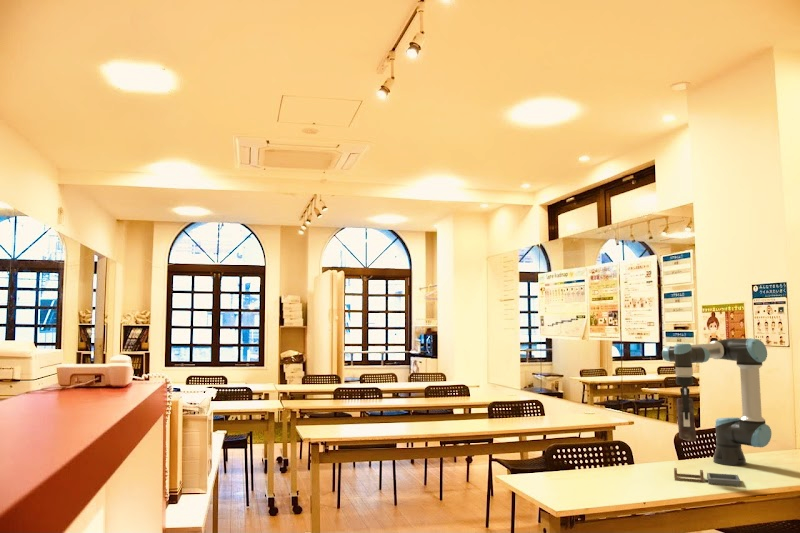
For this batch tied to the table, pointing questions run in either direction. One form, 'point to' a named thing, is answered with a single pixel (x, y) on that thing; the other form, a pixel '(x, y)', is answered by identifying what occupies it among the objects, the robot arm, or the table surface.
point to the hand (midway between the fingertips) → (686, 425)
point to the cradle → (689, 476)
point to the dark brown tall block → (684, 432)
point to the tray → (723, 479)
